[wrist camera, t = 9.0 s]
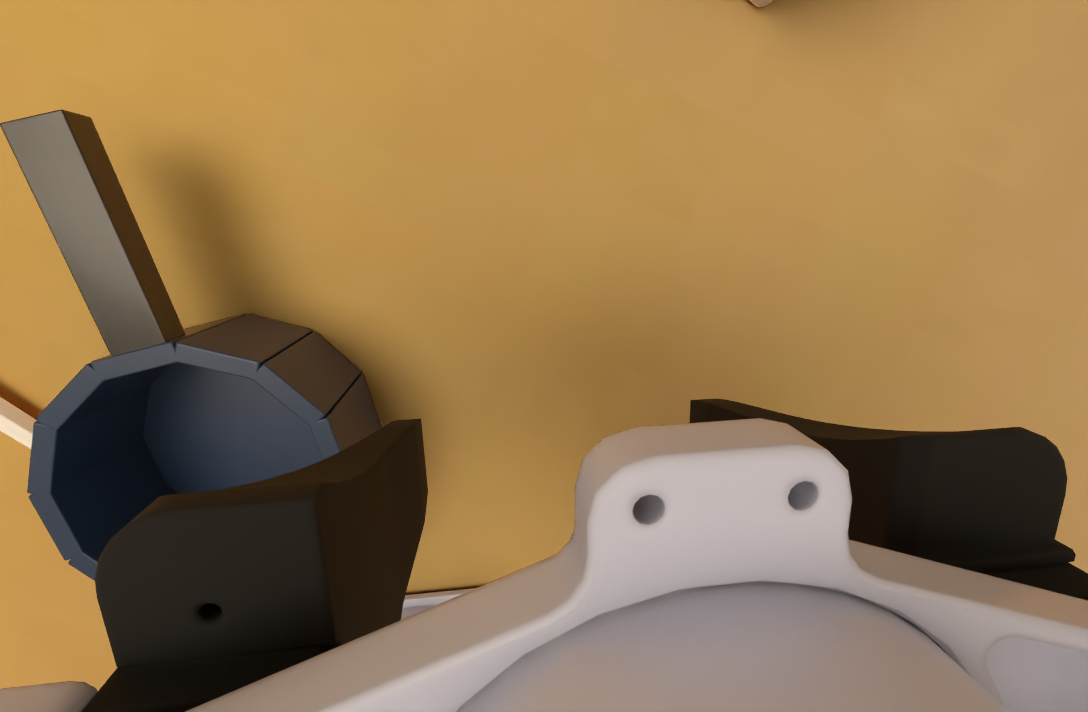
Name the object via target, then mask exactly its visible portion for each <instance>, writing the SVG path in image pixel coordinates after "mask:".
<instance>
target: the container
mask: <svg viewBox="0 0 1088 712" xmlns="http://www.w3.org/2000/svg"><path fill="white" fill-rule="evenodd" d="M749 1H750V2H752V3H753V4H754V5H755V6H757V7H762V6H766V5H768V4H769V3H770V2H771V1H773V0H749Z"/></svg>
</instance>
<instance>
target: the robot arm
mask: <svg viewBox="0 0 1088 712" xmlns="http://www.w3.org/2000/svg"><path fill="white" fill-rule="evenodd" d="M1066 484H1067V475H1066V469H1065V463H1064V459H1063V458H1062V456H1061V454H1060V452H1059V450H1058V448H1057V447H1056V446H1055V445H1054V444H1053V443H1052V442H1050V441H1049V440H1048V439H1047V438H1046V437H1044V436H1041V435H1039V434H1036V433H1034V432H1031V431H1029V430H1026V429H1024V428H1022V427H1012V428H999V429H986V430H973V431H959V432H919V431H895V430H882V429H869V428H859V427H851V426H844V425H837V424H831V423H824V422H819V421H814V420H809V419H804V418H800V417H795V416H791V415H786V414H782V413H778V412H774V411H770V410H766V409H762V408H759V407H755V406H751V405H747V404H743V403H739V402H734V401H729V400H723V399H701V400H691V405H690V423H688V424H674V425H660V426H647V427H634V428H631V429H628V430H624V431H621V432H618V433H615V434H612V435H609V436H606V437H604V438H603V439H602V440H601V441H600V442H599V443H598V444H597V445H596V446H595V447H594V448H593V449H592V450H591V451H590V452H589V453H588V454H587V455H586V456H585V457H584V458H583V459H582V463H581V467H580V470H579V474H578V478H577V481H576V485H575V525H574V532H573V534H572V536H571V539H570V541H569V542H568V543H567V544H566V545H565V546H564V547H563V549H562V550H561V551H559V552H558V553H557V554H556V555H553V556H551V557H549V558H546V559H544V560H542V561H539V562H537V563H534V564H532V565H530V566H527V567H525V568H523V569H520V570H518V571H516V572H513V573H511V574H509V575H506V576H504V577H501V578H499V579H497V580H494V581H492V582H490V583H487V584H485V585H483V586H480V587H478V588H472V589H462V590H453V591H443V592H433V593H423V594H413V595H405V594H406V590H407V586H408V582H409V578H410V575H411V571H412V567H413V564H414V560H415V556H416V552H417V549H418V545H419V541H420V537H421V534H422V530H423V526H424V522H425V513H426V504H427V494H428V488H427V477H426V467H425V456H424V446H423V435H422V425H421V419H410V420H396V421H393V422H391V423H389V424H387V425H385V426H383V427H382V428H380V429H378V430H377V431H375V432H374V433H372V434H370V435H369V436H367V437H365V438H364V439H362V440H360V441H359V442H357V443H355V444H353V445H351V446H349V447H347V448H346V449H344V450H342V451H340V452H338V453H336V454H334V455H332V456H330V457H328V458H326V459H324V460H321V461H319V462H317V463H314V464H312V465H309V466H307V467H304V468H301V469H299V470H296V471H292V472H289V473H286V474H283V475H279V476H276V477H273V478H269V479H266V480H262V481H258V482H254V483H249V484H245V485H240V486H235V487H230V488H225V489H219V490H213V491H205V492H192V493H181V494H172V495H165V496H160V497H158V498H157V499H156V500H155V501H154V502H152V503H151V504H150V505H149V506H148V507H147V508H145V509H144V510H143V511H142V512H141V513H140V514H139V515H137V516H136V517H135V518H134V519H133V520H132V521H130V522H129V523H128V524H127V525H126V526H125V527H124V528H122V529H121V530H120V531H119V532H118V533H117V534H115V535H114V536H113V537H112V538H111V539H110V540H109V542H108V544H107V545H106V547H105V548H104V550H103V552H102V553H101V555H100V557H99V560H98V565H97V569H96V574H95V584H96V593H97V599H98V603H99V606H100V610H101V613H102V617H103V620H104V624H105V627H106V631H107V634H108V637H109V641H110V644H111V648H112V651H113V655H114V658H115V662H116V665H117V667H118V668H117V669H116V670H115V672H114V673H113V674H112V675H111V676H110V678H109V679H108V680H107V681H106V683H105V684H104V685H103V686H102V687H101V689H100V690H99V691H97V689H96V688H95V687H93V686H91V685H89V684H87V683H85V682H74V681H66V682H57V683H48V684H39V685H30V686H21V687H12V688H3V689H0V712H1088V574H1087V573H1086V572H1084V571H1082V570H1080V569H1079V568H1077V567H1075V566H1073V565H1072V564H1070V563H1068V562H1072V561H1074V559H1075V553H1074V551H1073V549H1071V548H1069V547H1067V546H1065V545H1064V544H1062V543H1060V542H1058V541H1056V540H1054V539H1055V535H1056V531H1057V527H1058V522H1059V518H1060V514H1061V510H1062V506H1063V502H1064V498H1065V493H1066Z"/></svg>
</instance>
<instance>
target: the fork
mask: <svg viewBox="0 0 1088 712" xmlns="http://www.w3.org/2000/svg"><path fill="white" fill-rule="evenodd" d="M36 421H37V420H36V419H34V418H33V417H31V416H29V415H28V414H26V413H25V412H23V411H22V410H20V409H19V408H17V407H15V406H14V405H12V404H11V403H9V402H8V401H6V400H4V399H3V398H1V397H0V431H1V432H3V433H5V434H6V435H8V436H10V437H11V438H13V439H15V440H16V441H18V442H20V443H21V444H23V445H25V446H27V447H28V448H30V449H31V446H32V435H33V424H34V422H36Z"/></svg>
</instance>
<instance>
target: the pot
mask: <svg viewBox="0 0 1088 712" xmlns="http://www.w3.org/2000/svg"><path fill="white" fill-rule="evenodd" d="M0 126H1V128H2V130H3V132H4V134H5V136H6V138H7V140H8V142H9V145H10V147H11V149H12V151H13V153H14V155H15V157H16V159H17V161H18V163H19V165H20V167H21V169H22V172H23V174H24V176H25V178H26V180H27V182H28V184H29V186H30V188H31V190H32V192H33V194H34V196H35V199H36V201H37V203H38V205H39V207H40V209H41V211H42V213H43V215H44V217H45V219H46V221H47V223H48V225H49V228H50V230H51V232H52V234H53V236H54V238H55V240H56V242H57V244H58V246H59V248H60V250H61V252H62V255H63V257H64V259H65V261H66V263H67V265H68V267H69V269H70V271H71V273H72V275H73V277H74V279H75V282H76V284H77V286H78V288H79V290H80V292H81V294H82V296H83V298H84V300H85V302H86V304H87V306H88V309H89V311H90V313H91V315H92V317H93V319H94V321H95V323H96V325H97V327H98V329H99V331H100V333H101V336H102V338H103V340H104V342H105V344H106V346H107V348H108V350H109V352H110V354H111V355H109V356H106V357H103V358H100V359H97V360H94V361H92V362H91V363H89V364H87V365H85V367H84V368H83V369H82V370H81V371H80V372H79V373H78V374H77V375H76V376H75V377H74V378H73V379H72V380H71V381H70V382H69V384H68V385H67V386H66V387H65V388H64V389H63V390H62V391H61V392H60V393H59V394H58V395H57V396H56V397H55V398H54V400H53V401H52V402H51V403H50V404H49V405H48V406H47V407H46V408H45V409H44V410H43V411H42V412H41V413H40V414H39V416H38V417H37V418H36V420H37V421H36V422H34V424H33V435H32V446H31V457H30V468H29V479H28V490H27V492H28V493H30V494H31V495H30V496H29V499H30V500H31V502H32V504H33V506H34V507H35V509H36V511H37V513H38V515H39V516H40V518H41V520H42V522H43V523H44V525H45V527H46V529H47V530H48V532H49V534H50V536H51V537H52V539H53V541H54V543H55V544H56V546H57V548H58V550H59V551H60V553H61V555H62V557H63V558H64V560H69V559H71V560H70V561H69V562H68V564H69V565H71V566H72V567H74V568H76V569H77V570H79V571H80V572H82V573H83V574H85V575H87V576H88V577H90V578H91V579H93V580H94V581H95V574H96V569H97V565H98V560H99V557H100V555H101V553H102V552H103V550H104V548H105V547H106V545H107V544H108V542H109V540H110V539H111V538H112V537H113V536H114V535H115V534H117V533H118V532H119V531H120V530H121V529H122V528H124V527H125V526H126V525H127V524H128V523H129V522H130V521H132V520H133V519H134V518H135V517H136V516H137V515H139V514H140V513H141V512H142V511H143V510H144V509H145V508H147V507H148V506H149V505H150V504H151V503H152V502H154V501H155V500H156V499H157V498H158V497H160V496H165V495H172V494H181V493H192V492H205V491H213V490H219V489H225V488H230V487H235V486H240V485H245V484H249V483H254V482H258V481H262V480H266V479H269V478H273V477H276V476H279V475H283V474H286V473H289V472H292V471H296V470H299V469H301V468H304V467H307V466H309V465H312V464H314V463H317V462H319V461H321V460H324V459H326V458H328V457H330V456H332V455H334V454H336V453H338V452H340V451H342V450H344V449H346V448H347V447H349V446H351V445H353V444H355V443H357V442H359V441H360V440H362V439H364V438H365V437H367V436H369V435H370V434H372V433H374V432H375V431H377V430H378V429H380V427H381V424H380V421H379V418H378V415H377V412H376V410H375V407H374V404H373V401H372V398H371V395H370V392H369V389H368V387H367V384H366V381H365V378H364V375H363V374H360V373H361V371H360V370H359V369H358V368H357V367H356V366H354V365H353V364H352V363H351V362H350V361H349V360H348V359H346V358H345V357H344V356H343V355H342V354H341V353H340V352H339V351H337V350H336V349H335V348H334V347H333V346H332V345H331V344H329V343H328V342H327V341H326V340H325V339H324V338H323V337H321V336H320V335H319V334H318V333H317V332H313V333H312V330H311V329H308V328H304V327H300V326H296V325H292V324H288V323H284V322H280V321H276V320H272V319H268V318H264V317H260V316H256V315H252V314H248V315H246V314H242V315H238V316H234V317H230V318H226V319H222V320H218V321H214V322H210V323H206V324H202V325H198V326H194V327H190V328H186V329H183V327H182V325H181V323H180V321H179V318H178V316H177V314H176V311H175V309H174V307H173V305H172V302H171V300H170V298H169V295H168V293H167V291H166V288H165V286H164V284H163V282H162V279H161V277H160V275H159V272H158V270H157V268H156V266H155V263H154V261H153V259H152V256H151V254H150V252H149V250H148V247H147V245H146V243H145V240H144V238H143V236H142V233H141V231H140V229H139V227H138V224H137V222H136V220H135V217H134V215H133V213H132V211H131V208H130V206H129V204H128V201H127V199H126V197H125V194H124V192H123V190H122V188H121V185H120V183H119V181H118V178H117V176H116V174H115V172H114V169H113V167H112V165H111V162H110V160H109V158H108V156H107V153H106V151H105V149H104V146H103V144H102V142H101V139H100V137H99V135H98V133H97V130H96V128H95V126H94V123H93V121H92V119H91V118H90V117H87V116H84V115H80V114H76V113H73V112H69V111H65V110H57V111H52V112H48V113H43V114H39V115H35V116H30V117H26V118H21V119H17V120H12V121H8V122H4V123H0ZM359 374H360V375H359Z"/></svg>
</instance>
